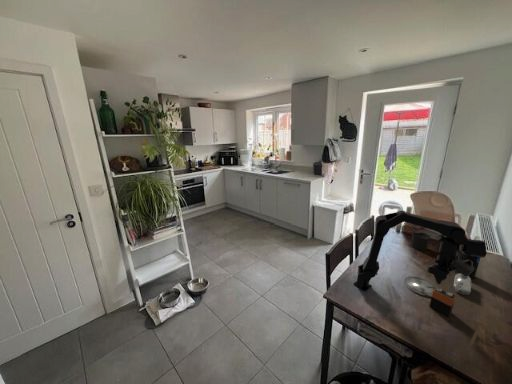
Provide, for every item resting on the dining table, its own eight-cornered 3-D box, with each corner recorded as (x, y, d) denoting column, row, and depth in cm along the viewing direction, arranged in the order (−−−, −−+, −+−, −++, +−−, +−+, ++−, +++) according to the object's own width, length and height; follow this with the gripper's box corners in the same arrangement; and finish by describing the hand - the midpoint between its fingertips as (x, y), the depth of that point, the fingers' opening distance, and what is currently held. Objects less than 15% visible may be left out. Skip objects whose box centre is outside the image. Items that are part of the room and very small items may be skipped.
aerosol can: (457, 276, 112) (466, 244, 107) (452, 268, 119) (460, 237, 114) (478, 281, 109) (488, 248, 103) (471, 272, 116) (480, 240, 110)
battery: (448, 317, 88) (453, 298, 85) (428, 307, 94) (433, 288, 91) (451, 312, 90) (456, 293, 88) (432, 302, 96) (436, 284, 93)
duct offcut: (469, 297, 99) (472, 286, 97) (452, 290, 103) (454, 280, 101) (469, 286, 105) (472, 276, 104) (453, 281, 109) (456, 271, 108)
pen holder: (425, 253, 136) (428, 239, 133) (408, 247, 142) (411, 234, 140) (428, 247, 142) (431, 234, 139) (411, 243, 148) (414, 230, 146)
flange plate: (432, 301, 96) (433, 299, 96) (399, 284, 108) (399, 282, 107) (442, 289, 104) (443, 287, 103) (410, 274, 115) (411, 272, 115)
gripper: (467, 268, 76) (457, 302, 80) (480, 252, 86) (471, 284, 90) (430, 254, 85) (423, 286, 89) (446, 241, 95) (439, 270, 99)
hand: (440, 281), depth 92 cm, fingers open, 4 cm apart
